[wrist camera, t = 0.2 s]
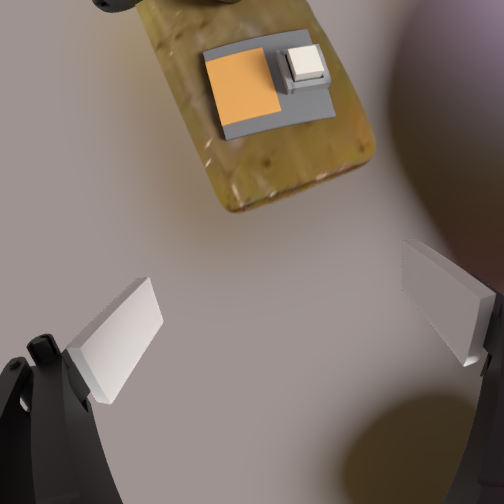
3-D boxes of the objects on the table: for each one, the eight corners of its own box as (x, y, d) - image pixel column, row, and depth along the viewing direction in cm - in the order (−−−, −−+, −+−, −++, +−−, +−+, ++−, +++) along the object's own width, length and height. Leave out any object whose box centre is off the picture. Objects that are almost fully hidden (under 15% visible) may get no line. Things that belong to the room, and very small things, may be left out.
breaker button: (286, 58, 30) (287, 49, 26) (312, 54, 29) (315, 45, 26) (294, 82, 30) (296, 74, 27) (320, 77, 30) (324, 70, 27)
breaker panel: (204, 54, 33) (197, 44, 29) (306, 32, 31) (309, 20, 27) (227, 140, 37) (222, 137, 33) (334, 117, 34) (340, 112, 30)
